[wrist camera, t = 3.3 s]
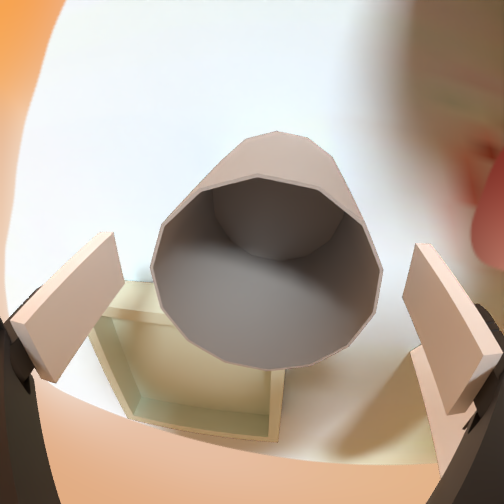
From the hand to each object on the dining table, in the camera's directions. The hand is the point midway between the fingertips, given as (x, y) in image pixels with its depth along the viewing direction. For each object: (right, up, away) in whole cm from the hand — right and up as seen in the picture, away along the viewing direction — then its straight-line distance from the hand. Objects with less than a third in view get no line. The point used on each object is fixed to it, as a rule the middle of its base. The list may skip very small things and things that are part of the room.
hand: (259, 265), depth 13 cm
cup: (+1, +4, +7) cm, 8 cm away
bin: (-5, -9, +15) cm, 18 cm away
